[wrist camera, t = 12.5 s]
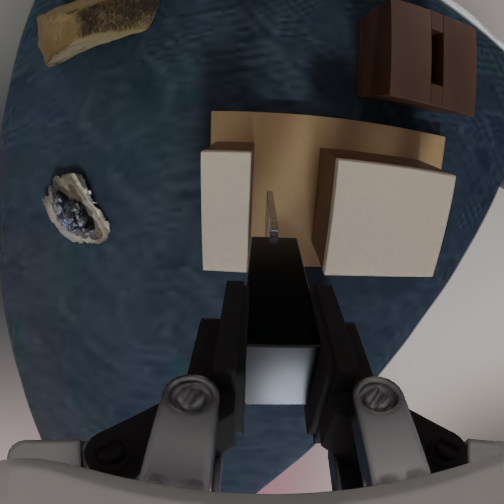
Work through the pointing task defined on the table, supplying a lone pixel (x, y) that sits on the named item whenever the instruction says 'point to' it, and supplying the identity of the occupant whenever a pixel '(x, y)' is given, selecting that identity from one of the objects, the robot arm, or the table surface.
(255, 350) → the knife
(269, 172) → the board
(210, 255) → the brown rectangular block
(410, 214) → the cake loaf
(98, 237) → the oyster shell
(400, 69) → the knife block
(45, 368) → the table surface
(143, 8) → the rock
